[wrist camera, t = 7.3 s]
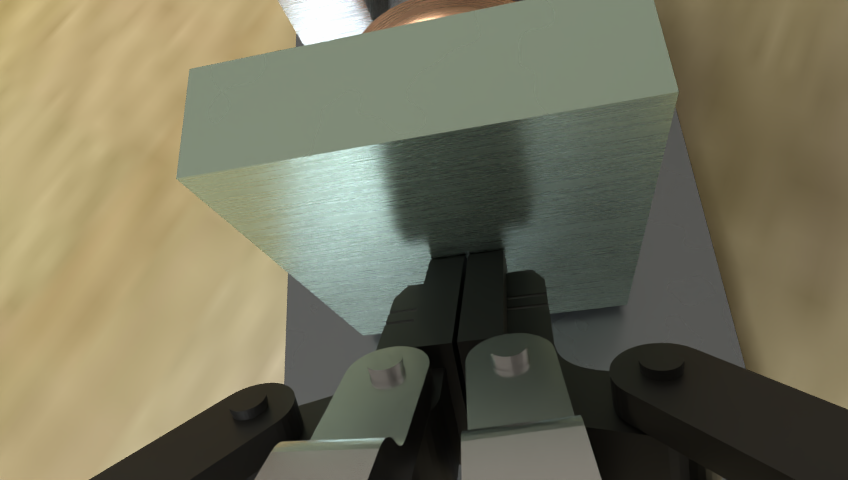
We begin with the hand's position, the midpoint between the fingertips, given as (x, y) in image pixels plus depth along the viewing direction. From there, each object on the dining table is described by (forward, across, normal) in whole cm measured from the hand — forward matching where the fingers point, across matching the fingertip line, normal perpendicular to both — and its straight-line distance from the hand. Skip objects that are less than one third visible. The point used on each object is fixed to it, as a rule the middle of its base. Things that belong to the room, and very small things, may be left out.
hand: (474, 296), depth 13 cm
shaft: (+8, 0, -3) cm, 9 cm away
